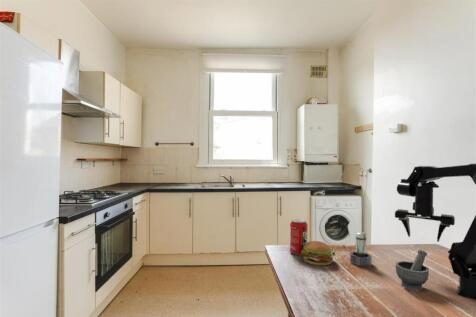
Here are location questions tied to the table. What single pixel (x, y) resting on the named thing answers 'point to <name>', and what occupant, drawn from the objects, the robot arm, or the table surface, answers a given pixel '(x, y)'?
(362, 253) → the tube
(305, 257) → the food
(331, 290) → the table surface
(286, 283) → the table surface
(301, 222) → the soda can
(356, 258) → the collar ring
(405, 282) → the mortar and pestle
